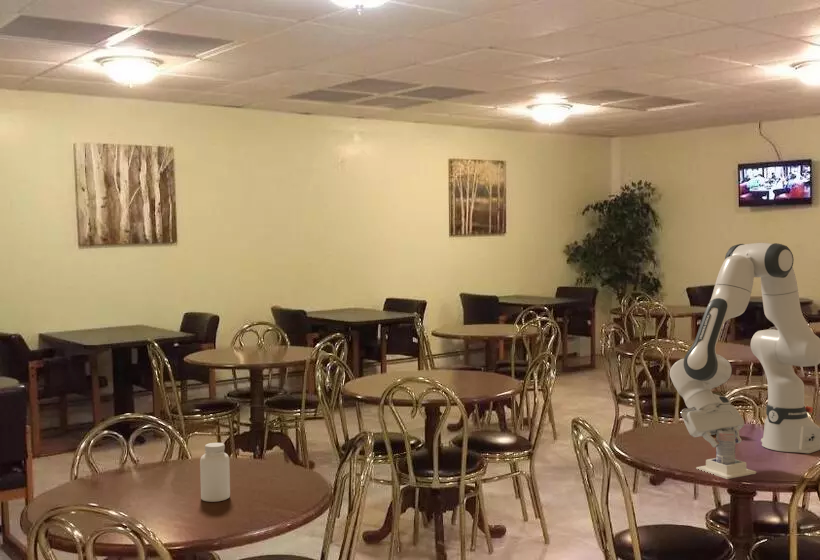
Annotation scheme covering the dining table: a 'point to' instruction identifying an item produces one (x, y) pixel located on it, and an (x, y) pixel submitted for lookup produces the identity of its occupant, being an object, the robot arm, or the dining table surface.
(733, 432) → the energy drink
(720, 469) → the holder
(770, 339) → the robot arm
